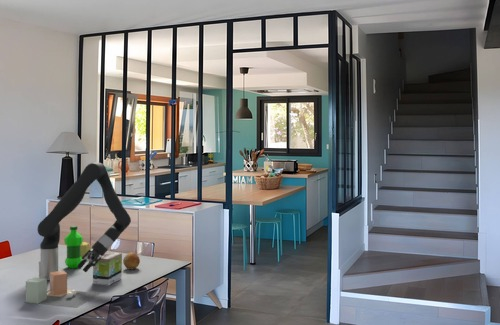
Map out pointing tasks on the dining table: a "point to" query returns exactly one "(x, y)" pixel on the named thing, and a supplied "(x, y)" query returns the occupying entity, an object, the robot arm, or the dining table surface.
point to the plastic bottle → (73, 248)
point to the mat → (68, 299)
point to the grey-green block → (36, 290)
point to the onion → (131, 260)
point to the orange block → (58, 282)
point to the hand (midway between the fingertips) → (81, 269)
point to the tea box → (108, 269)
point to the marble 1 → (69, 295)
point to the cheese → (85, 248)
